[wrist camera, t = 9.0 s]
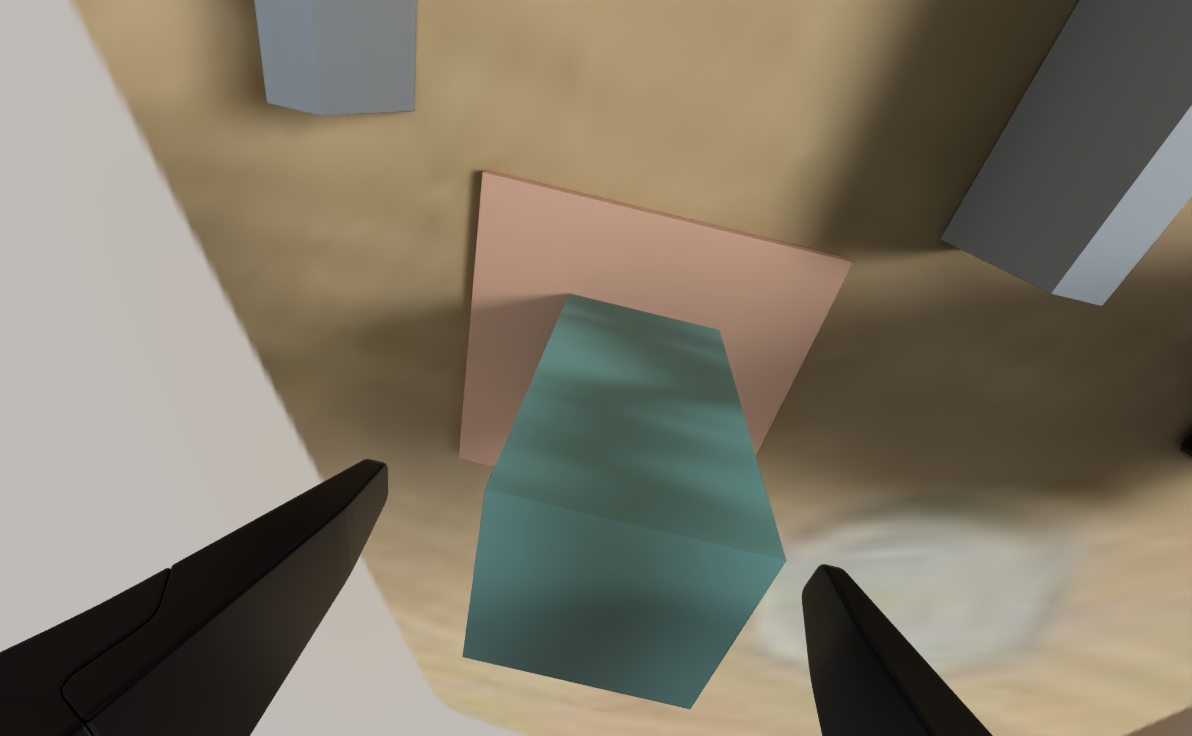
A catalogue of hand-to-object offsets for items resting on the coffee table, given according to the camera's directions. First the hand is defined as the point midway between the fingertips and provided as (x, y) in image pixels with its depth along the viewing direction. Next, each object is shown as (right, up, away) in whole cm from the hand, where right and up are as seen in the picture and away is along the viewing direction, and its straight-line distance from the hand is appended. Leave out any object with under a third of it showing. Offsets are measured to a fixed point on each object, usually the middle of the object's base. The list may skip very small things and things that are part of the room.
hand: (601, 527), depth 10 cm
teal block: (+1, +3, +5) cm, 6 cm away
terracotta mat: (+1, +3, +6) cm, 7 cm away
